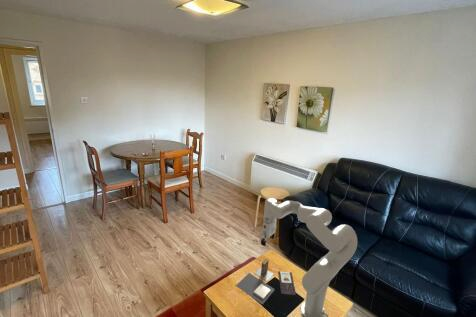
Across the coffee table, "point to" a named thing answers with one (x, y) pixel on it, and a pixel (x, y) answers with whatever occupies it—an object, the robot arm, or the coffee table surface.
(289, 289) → the chocolate bar
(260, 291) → the tile
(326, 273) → the robot arm
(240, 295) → the coffee table surface
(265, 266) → the flat brown wooden slab
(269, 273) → the pad
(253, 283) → the mat
